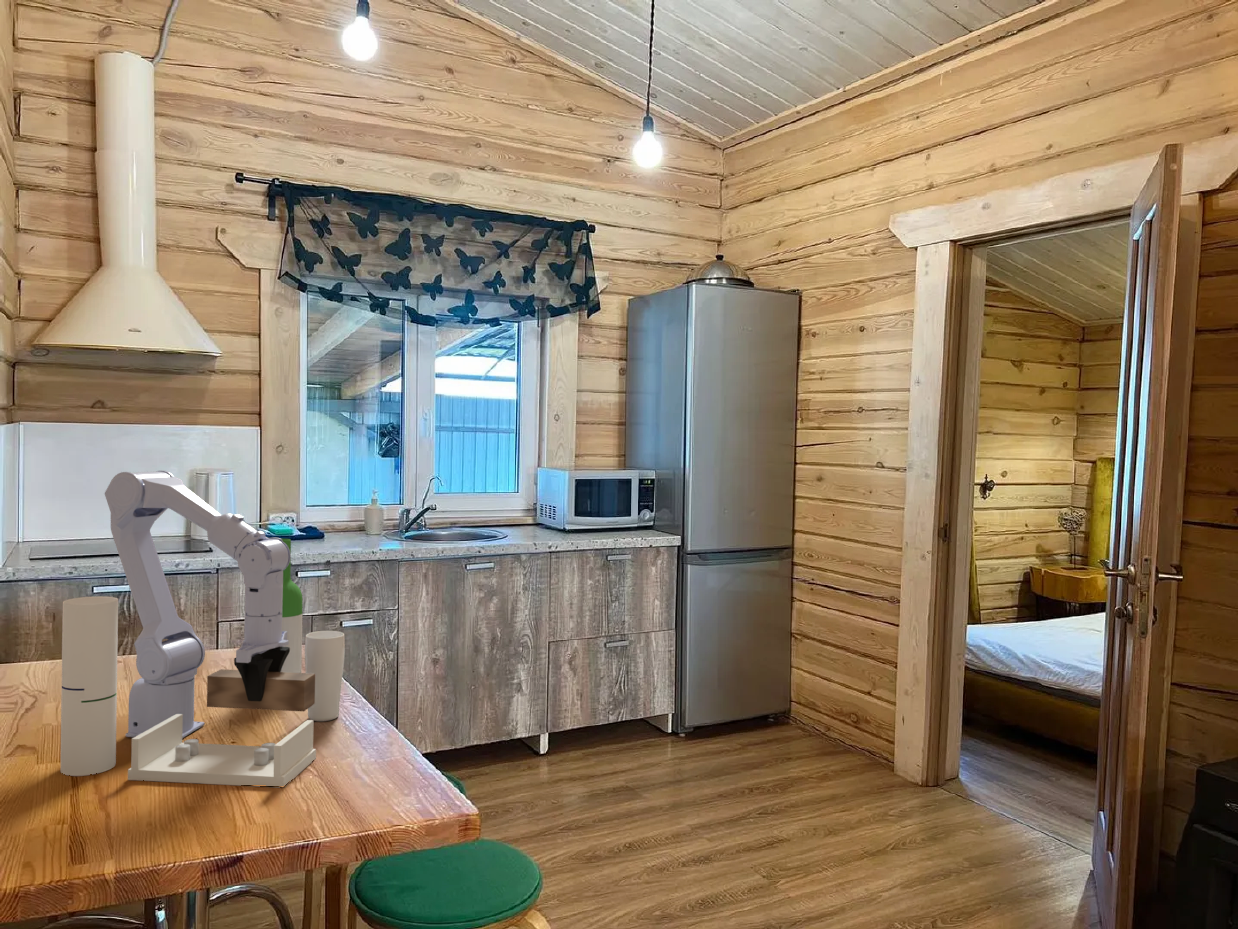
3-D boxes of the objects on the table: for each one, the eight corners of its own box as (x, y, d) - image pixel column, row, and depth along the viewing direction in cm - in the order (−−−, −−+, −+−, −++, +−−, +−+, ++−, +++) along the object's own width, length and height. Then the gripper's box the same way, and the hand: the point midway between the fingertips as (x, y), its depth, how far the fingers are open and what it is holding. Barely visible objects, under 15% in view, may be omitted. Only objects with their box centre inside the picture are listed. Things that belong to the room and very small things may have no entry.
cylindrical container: (75, 758, 139) (77, 596, 138) (124, 758, 140) (126, 596, 139) (50, 776, 132) (52, 604, 131) (101, 776, 133) (104, 605, 132)
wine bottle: (252, 691, 177) (255, 538, 177) (291, 685, 183) (294, 536, 182) (267, 700, 172) (270, 542, 171) (307, 694, 177) (310, 540, 176)
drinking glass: (331, 725, 158) (332, 639, 158) (295, 721, 160) (297, 637, 159) (350, 714, 165) (351, 632, 165) (316, 710, 166) (317, 629, 166)
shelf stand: (127, 779, 131) (128, 738, 131) (172, 751, 143) (173, 713, 143) (283, 787, 130) (284, 746, 130) (315, 758, 142) (316, 720, 142)
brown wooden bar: (206, 707, 147) (207, 676, 147) (220, 699, 151) (220, 669, 151) (303, 711, 146) (304, 680, 146) (314, 703, 150) (315, 673, 150)
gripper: (268, 623, 141) (266, 710, 141) (305, 606, 155) (303, 685, 156) (223, 621, 141) (221, 708, 141) (264, 604, 156) (263, 683, 156)
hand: (261, 696), depth 149 cm, fingers closed on brown wooden bar, 4 cm apart
